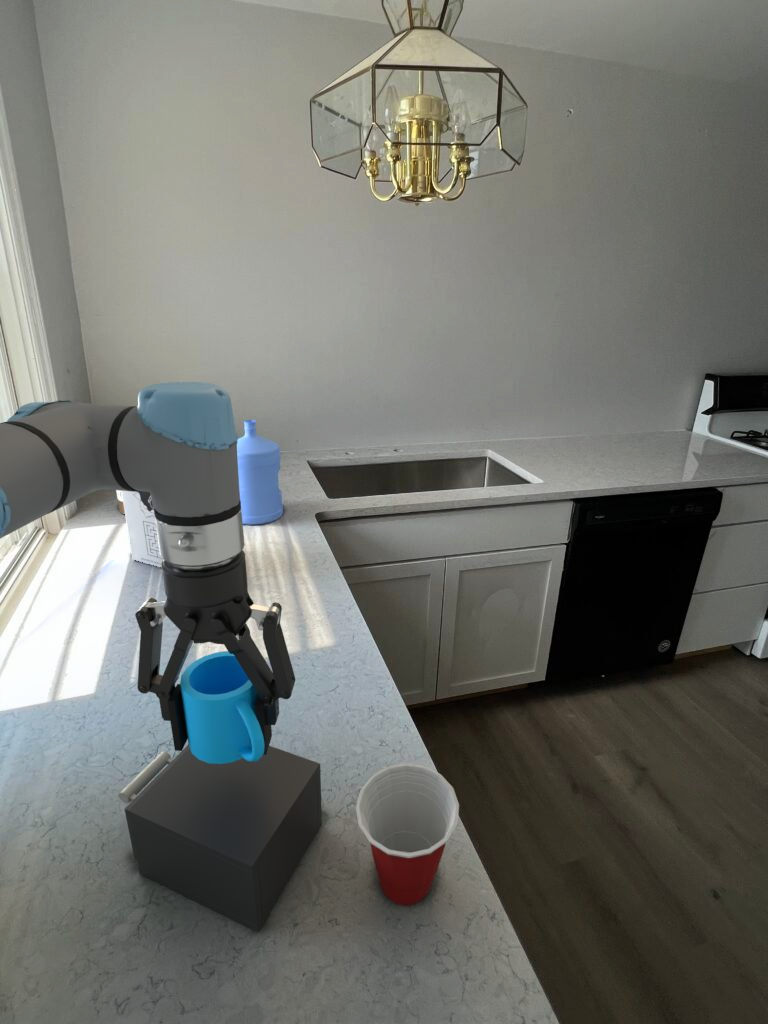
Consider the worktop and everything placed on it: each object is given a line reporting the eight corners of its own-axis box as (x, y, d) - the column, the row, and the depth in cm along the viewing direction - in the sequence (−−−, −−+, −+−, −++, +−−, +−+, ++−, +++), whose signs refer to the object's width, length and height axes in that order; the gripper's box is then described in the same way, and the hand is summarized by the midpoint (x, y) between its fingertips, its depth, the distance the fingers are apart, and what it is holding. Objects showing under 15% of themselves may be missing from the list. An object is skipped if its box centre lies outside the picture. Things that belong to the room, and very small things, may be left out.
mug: (176, 731, 62) (167, 670, 59) (243, 699, 67) (238, 642, 64) (225, 801, 53) (217, 735, 50) (297, 759, 58) (294, 697, 55)
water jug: (257, 530, 153) (250, 430, 143) (217, 518, 161) (208, 422, 151) (294, 513, 166) (290, 420, 156) (255, 502, 173) (249, 413, 163)
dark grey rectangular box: (139, 874, 63) (126, 810, 59) (217, 782, 75) (210, 724, 71) (258, 932, 57) (252, 866, 54) (322, 823, 69) (320, 763, 66)
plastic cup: (335, 879, 63) (334, 801, 58) (402, 821, 70) (405, 747, 65) (405, 957, 55) (410, 874, 51) (471, 883, 63) (480, 804, 58)
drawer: (105, 846, 65) (94, 795, 62) (181, 767, 76) (174, 721, 73) (241, 911, 58) (235, 858, 55) (302, 815, 69) (300, 766, 66)
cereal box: (223, 566, 133) (214, 465, 124) (201, 579, 126) (189, 475, 117) (155, 548, 141) (142, 453, 132) (131, 560, 135) (115, 461, 126)
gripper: (69, 567, 49) (110, 765, 57) (309, 576, 48) (316, 775, 56) (111, 533, 56) (143, 714, 64) (322, 540, 55) (326, 722, 63)
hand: (224, 742), depth 60 cm, fingers closed on mug, 8 cm apart
